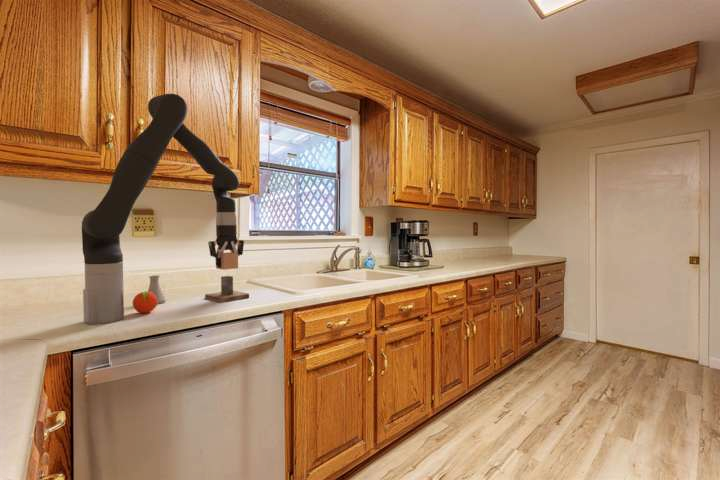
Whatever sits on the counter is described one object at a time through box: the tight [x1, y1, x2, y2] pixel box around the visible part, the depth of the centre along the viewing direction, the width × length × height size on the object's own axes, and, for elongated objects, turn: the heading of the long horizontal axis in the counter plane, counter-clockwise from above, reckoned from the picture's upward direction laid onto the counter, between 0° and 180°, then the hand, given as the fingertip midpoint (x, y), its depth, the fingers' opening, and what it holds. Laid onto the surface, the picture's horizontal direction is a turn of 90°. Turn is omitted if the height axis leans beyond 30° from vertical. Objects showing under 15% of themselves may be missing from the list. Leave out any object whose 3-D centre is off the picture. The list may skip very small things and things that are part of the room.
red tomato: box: [132, 291, 158, 314], centre depth 113 cm, size 8×7×7 cm
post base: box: [204, 275, 250, 303], centre depth 138 cm, size 12×12×8 cm
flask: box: [147, 274, 167, 305], centre depth 129 cm, size 7×7×10 cm
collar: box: [215, 251, 239, 271], centre depth 138 cm, size 6×6×6 cm
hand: (227, 266), depth 138 cm, fingers closed on collar, 6 cm apart
